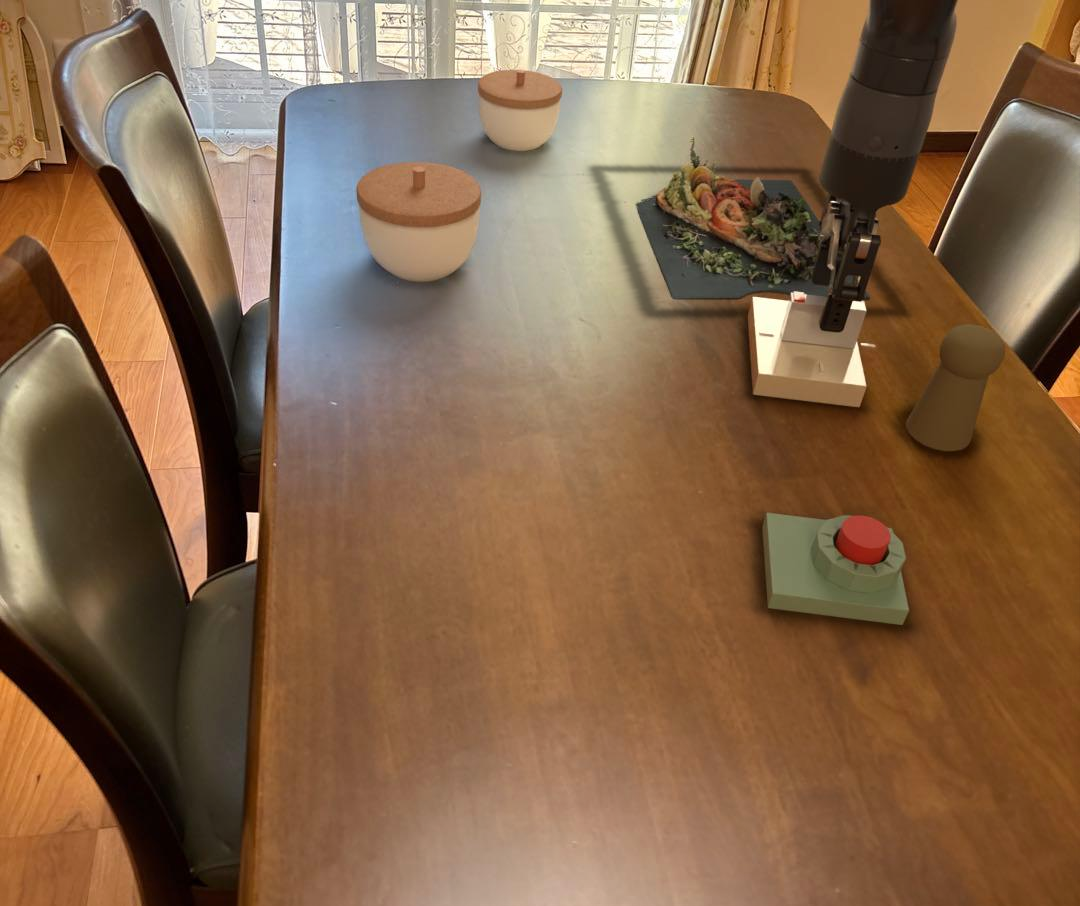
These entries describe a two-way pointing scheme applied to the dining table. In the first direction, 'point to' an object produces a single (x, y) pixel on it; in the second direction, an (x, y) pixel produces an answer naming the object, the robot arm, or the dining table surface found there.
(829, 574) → the button box
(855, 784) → the dining table surface
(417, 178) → the lidded bowl
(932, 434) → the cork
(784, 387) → the switch base
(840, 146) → the robot arm
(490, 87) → the trinket box
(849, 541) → the button
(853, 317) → the white switch lever
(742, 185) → the plated dish
